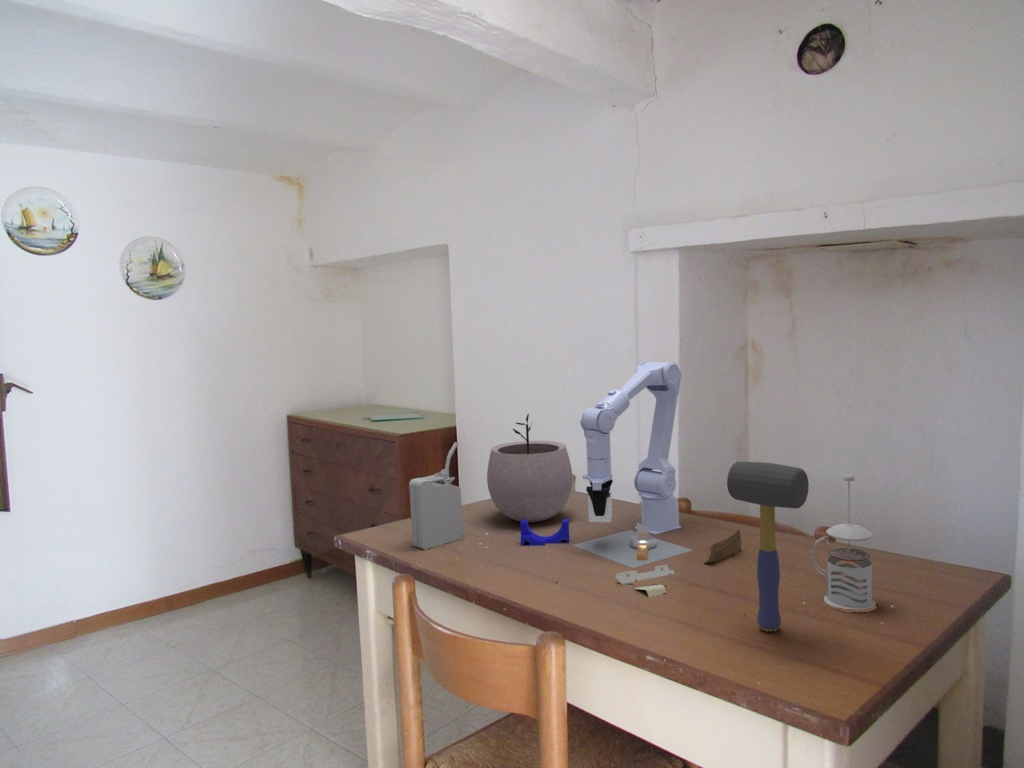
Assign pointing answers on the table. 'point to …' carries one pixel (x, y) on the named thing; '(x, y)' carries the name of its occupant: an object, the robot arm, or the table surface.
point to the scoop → (643, 541)
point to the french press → (848, 592)
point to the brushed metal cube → (608, 511)
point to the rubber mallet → (768, 521)
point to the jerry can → (436, 509)
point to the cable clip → (540, 540)
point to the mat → (629, 549)
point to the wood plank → (725, 548)
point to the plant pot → (529, 478)
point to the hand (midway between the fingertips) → (600, 512)
